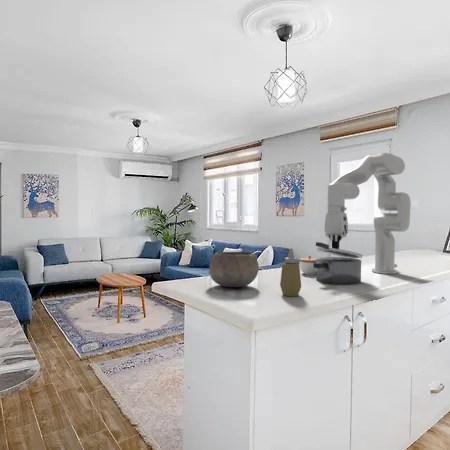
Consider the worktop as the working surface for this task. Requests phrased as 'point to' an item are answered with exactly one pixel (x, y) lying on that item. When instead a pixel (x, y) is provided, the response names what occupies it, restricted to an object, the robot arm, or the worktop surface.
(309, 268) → the lidded jar
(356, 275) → the cooker pot
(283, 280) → the squeeze bottle
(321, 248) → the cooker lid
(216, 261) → the clay pot
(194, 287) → the worktop surface
